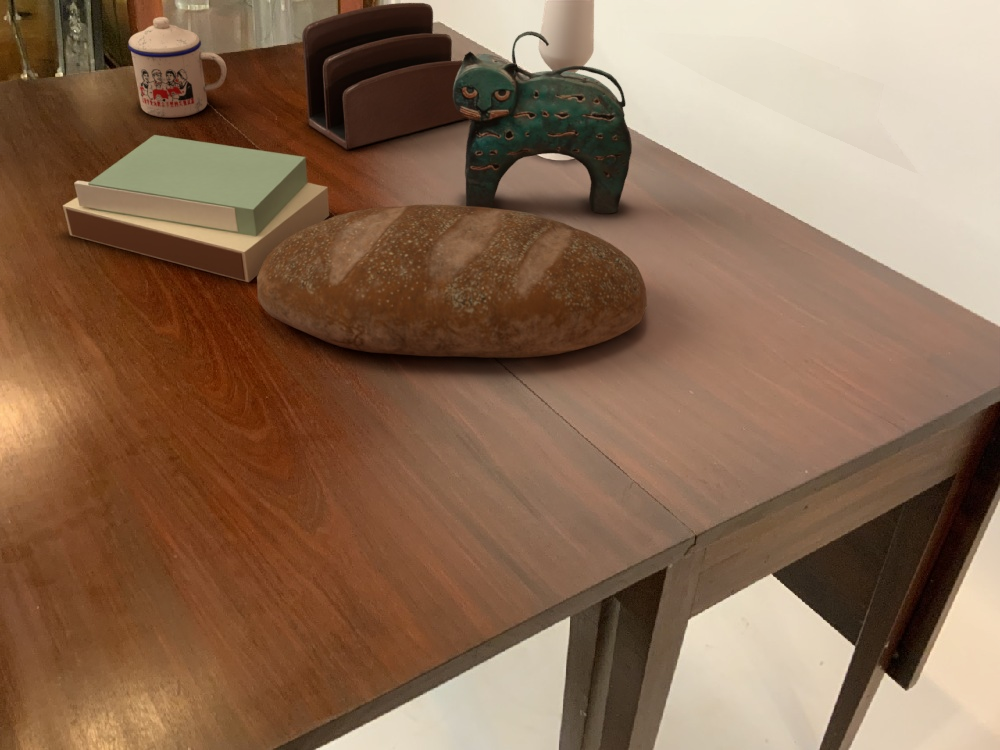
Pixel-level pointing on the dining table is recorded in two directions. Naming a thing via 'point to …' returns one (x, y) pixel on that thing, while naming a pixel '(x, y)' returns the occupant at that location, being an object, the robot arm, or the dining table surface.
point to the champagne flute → (567, 39)
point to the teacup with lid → (171, 70)
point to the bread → (452, 283)
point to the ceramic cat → (540, 124)
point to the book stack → (198, 204)
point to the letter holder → (378, 74)
